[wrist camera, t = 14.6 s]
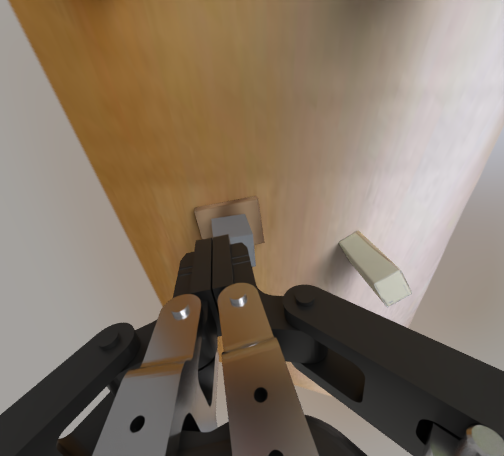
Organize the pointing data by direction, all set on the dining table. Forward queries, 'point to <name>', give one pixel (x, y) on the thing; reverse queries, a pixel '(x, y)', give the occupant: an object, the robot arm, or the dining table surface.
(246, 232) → the blue-grey rectangular block
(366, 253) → the skincare box
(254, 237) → the wooden stand with post
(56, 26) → the dining table surface
